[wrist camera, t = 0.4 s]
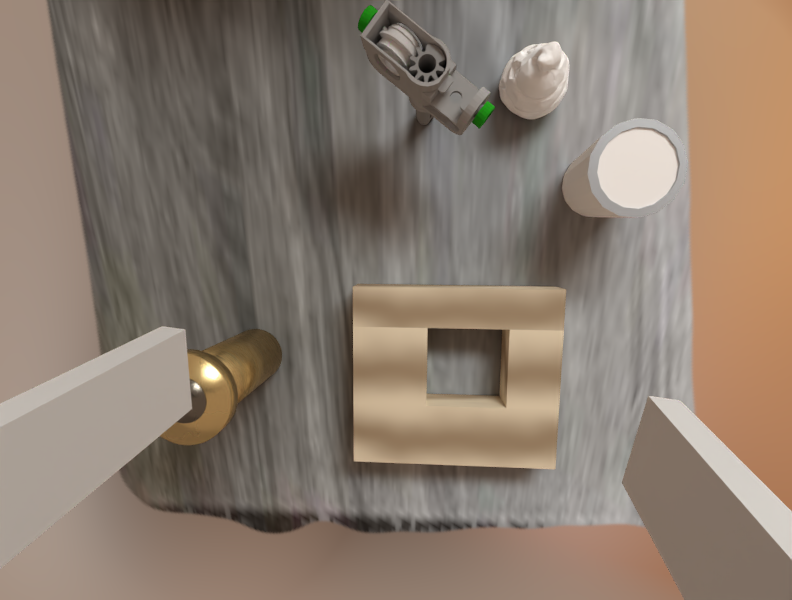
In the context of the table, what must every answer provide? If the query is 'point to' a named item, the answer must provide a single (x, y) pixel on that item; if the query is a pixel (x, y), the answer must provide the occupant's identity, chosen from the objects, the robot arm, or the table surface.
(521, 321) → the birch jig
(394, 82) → the mechanical component
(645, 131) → the white cup
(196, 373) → the brass sleeve
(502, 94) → the garlic bulb
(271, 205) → the table surface
